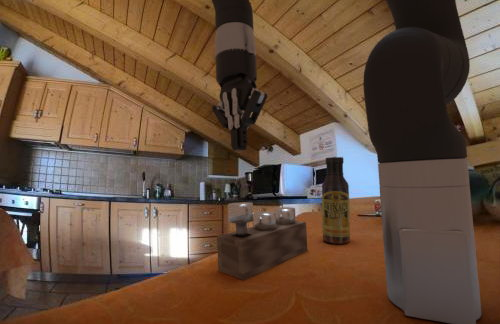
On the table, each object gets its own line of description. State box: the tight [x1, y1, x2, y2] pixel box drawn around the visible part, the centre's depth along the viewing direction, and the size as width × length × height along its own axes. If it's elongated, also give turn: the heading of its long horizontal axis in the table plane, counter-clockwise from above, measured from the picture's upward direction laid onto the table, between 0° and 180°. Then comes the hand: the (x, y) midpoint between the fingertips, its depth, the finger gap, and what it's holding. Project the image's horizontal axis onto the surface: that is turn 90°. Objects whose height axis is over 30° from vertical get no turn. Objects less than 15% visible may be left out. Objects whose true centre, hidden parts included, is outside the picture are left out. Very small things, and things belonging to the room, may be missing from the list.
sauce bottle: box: [321, 156, 351, 245], centre depth 59 cm, size 6×6×20 cm
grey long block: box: [216, 220, 308, 281], centre depth 49 cm, size 19×6×6 cm, turn 136°
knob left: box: [227, 201, 254, 238], centre depth 44 cm, size 4×4×7 cm
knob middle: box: [253, 210, 277, 231], centre depth 49 cm, size 4×4×7 cm
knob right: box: [273, 206, 297, 225], centre depth 54 cm, size 4×4×7 cm
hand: (239, 150), depth 45 cm, fingers closed
